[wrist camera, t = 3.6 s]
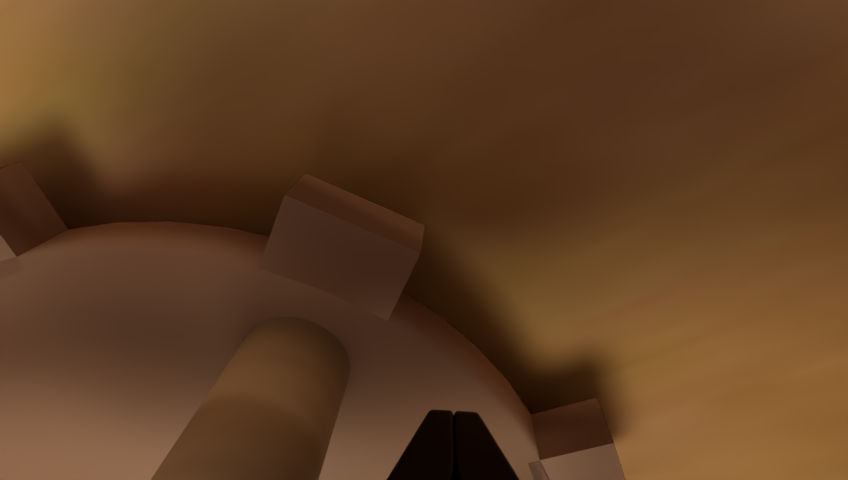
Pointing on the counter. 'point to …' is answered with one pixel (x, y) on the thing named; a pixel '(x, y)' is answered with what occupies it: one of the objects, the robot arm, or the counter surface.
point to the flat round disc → (243, 351)
